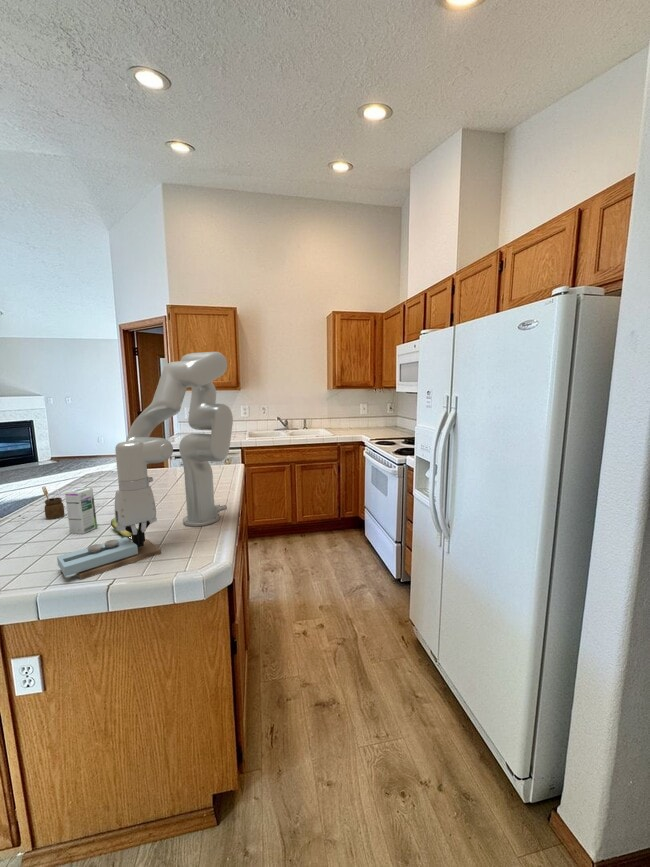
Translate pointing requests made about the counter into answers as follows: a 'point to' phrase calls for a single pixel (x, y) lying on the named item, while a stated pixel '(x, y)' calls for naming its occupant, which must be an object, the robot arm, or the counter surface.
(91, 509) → the syrup box
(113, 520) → the edible corn
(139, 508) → the robot arm
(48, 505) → the utensil holder
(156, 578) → the counter surface
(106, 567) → the board
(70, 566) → the panel
